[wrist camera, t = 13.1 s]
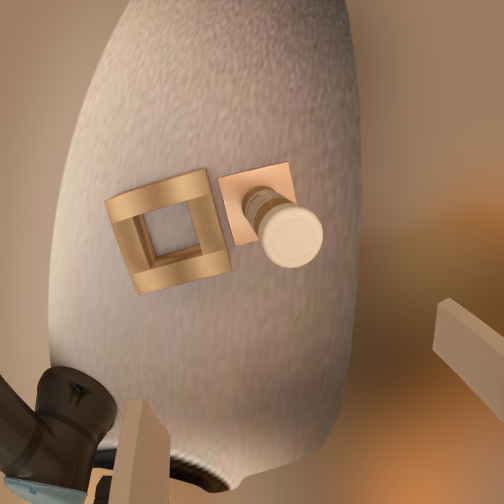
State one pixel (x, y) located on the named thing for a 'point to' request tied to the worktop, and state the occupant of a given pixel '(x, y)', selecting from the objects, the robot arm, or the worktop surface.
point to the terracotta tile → (241, 183)
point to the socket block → (180, 262)
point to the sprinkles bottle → (282, 227)
